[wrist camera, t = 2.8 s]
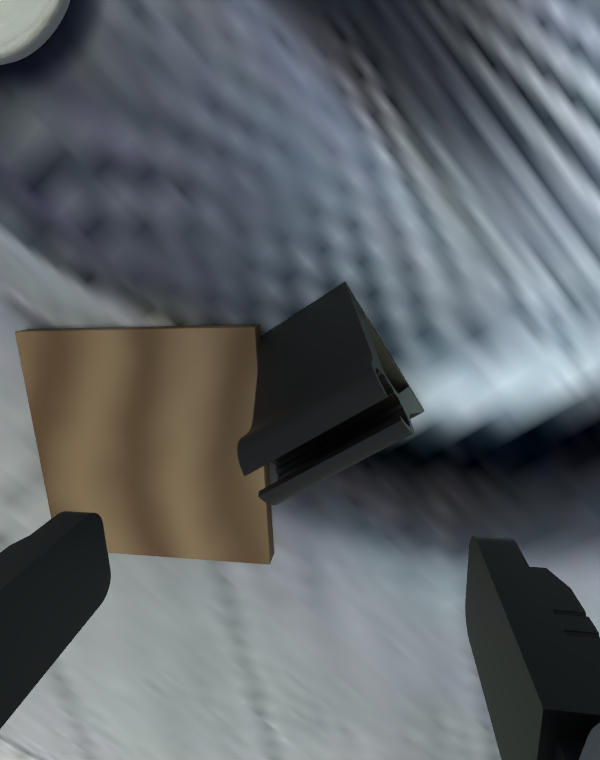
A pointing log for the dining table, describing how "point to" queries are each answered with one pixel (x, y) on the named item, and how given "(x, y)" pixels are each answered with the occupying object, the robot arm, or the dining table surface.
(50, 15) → the spoon rest
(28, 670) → the robot arm
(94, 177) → the dining table surface
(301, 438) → the phone stand
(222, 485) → the walnut board
